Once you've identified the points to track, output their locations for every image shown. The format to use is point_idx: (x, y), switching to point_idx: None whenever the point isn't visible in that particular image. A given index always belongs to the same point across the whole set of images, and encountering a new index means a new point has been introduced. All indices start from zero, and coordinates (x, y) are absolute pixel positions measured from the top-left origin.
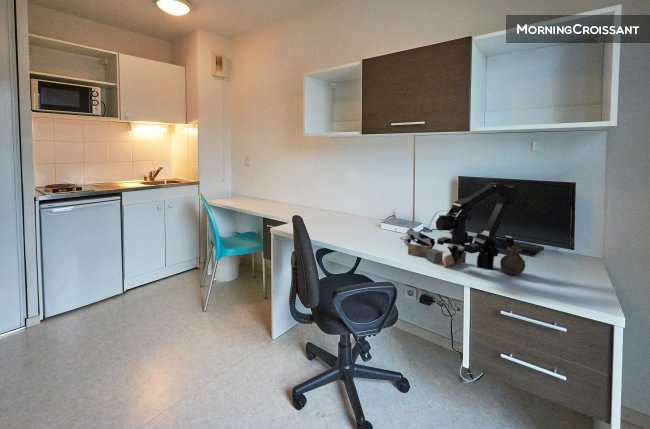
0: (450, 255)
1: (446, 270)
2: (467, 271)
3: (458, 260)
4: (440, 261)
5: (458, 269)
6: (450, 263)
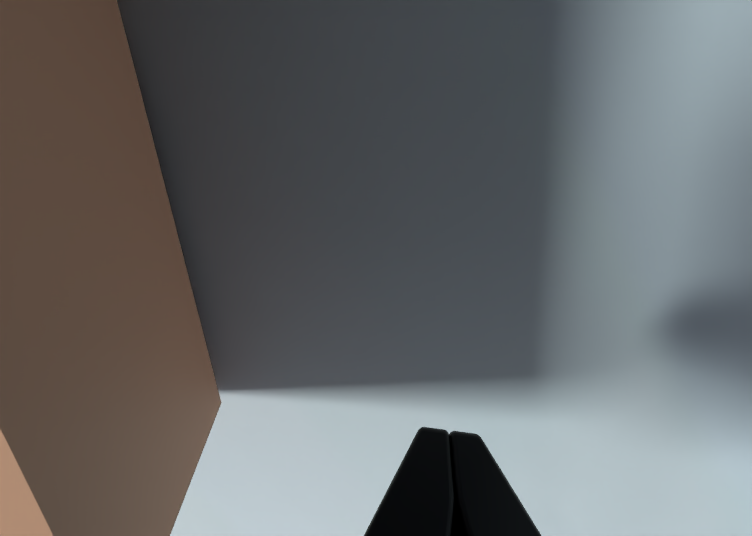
0: (21, 414)
1: (347, 498)
2: (738, 259)
3: (510, 518)
4: None
5: (492, 289)
6: (147, 190)
